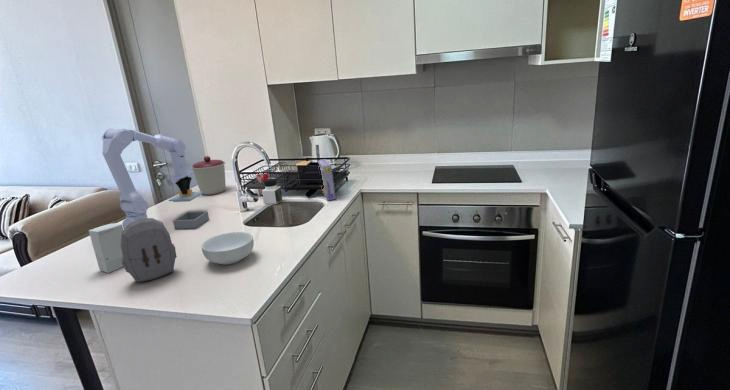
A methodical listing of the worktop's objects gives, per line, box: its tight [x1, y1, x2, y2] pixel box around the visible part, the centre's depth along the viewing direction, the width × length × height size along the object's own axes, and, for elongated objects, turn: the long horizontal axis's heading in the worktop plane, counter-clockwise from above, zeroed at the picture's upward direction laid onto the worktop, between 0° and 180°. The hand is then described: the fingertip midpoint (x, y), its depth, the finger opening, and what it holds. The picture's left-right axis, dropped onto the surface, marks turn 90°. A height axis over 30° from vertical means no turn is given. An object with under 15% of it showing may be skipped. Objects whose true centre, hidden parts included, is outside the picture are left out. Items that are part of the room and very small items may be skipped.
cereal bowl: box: [201, 231, 255, 266], centre depth 130 cm, size 17×17×7 cm
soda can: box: [256, 172, 271, 196], centre depth 206 cm, size 7×7×12 cm
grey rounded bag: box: [120, 217, 178, 283], centre depth 119 cm, size 15×8×20 cm, turn 127°
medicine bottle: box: [261, 177, 283, 205], centre depth 191 cm, size 7×7×12 cm
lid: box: [168, 188, 203, 203], centre depth 180 cm, size 12×11×4 cm
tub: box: [172, 210, 210, 230], centre depth 168 cm, size 11×10×4 cm
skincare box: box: [88, 222, 125, 274], centre depth 130 cm, size 8×6×15 cm
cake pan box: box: [317, 158, 337, 201], centre depth 194 cm, size 19×5×18 cm, turn 14°
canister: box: [190, 155, 227, 196], centre depth 216 cm, size 18×18×21 cm
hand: (185, 193), depth 180 cm, fingers closed on lid
